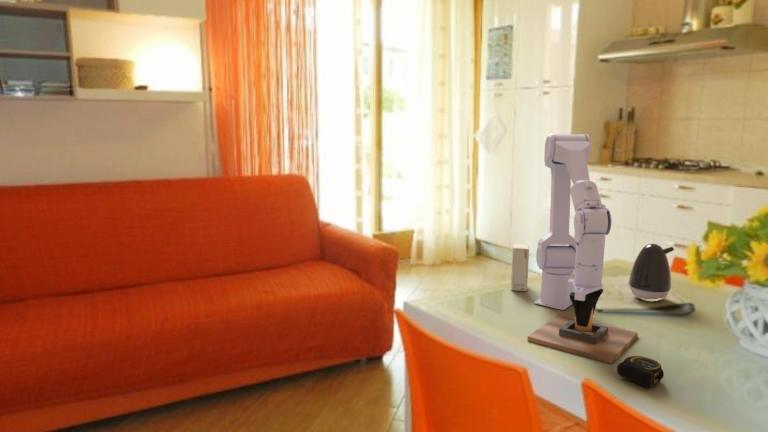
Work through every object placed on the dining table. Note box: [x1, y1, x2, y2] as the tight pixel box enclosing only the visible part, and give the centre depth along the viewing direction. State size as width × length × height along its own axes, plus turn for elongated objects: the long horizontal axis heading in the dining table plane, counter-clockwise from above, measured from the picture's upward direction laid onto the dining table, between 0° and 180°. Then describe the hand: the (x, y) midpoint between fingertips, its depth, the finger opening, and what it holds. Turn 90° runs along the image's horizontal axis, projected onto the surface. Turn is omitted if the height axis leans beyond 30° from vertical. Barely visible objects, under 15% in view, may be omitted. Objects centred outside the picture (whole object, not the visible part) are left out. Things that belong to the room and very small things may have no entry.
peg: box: [574, 309, 594, 332], centre depth 124 cm, size 4×4×5 cm
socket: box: [526, 313, 639, 365], centre depth 125 cm, size 18×18×2 cm
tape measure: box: [616, 355, 664, 389], centre depth 106 cm, size 7×7×4 cm
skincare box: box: [510, 243, 530, 292], centre depth 159 cm, size 6×4×12 cm
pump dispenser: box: [628, 243, 675, 299], centre depth 150 cm, size 10×10×15 cm
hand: (584, 322), depth 124 cm, fingers closed on peg, 4 cm apart
